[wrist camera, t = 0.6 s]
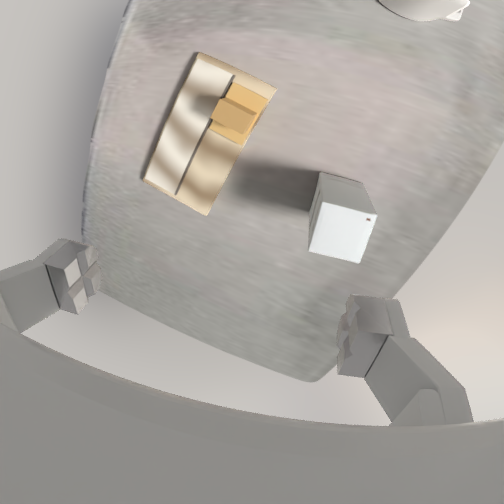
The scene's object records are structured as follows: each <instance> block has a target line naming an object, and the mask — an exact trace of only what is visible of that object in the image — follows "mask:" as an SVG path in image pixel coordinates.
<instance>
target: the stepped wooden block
mask: <svg viewBox="0 0 504 504" xmlns="http://www.w3.org/2000/svg"><path fill="white" fill-rule="evenodd" d="M267 101H268V99H266V98H264V97H262V96H261V95H259V94H257V93H255V92H253V91H251V90H249V89H247V88H245V87H243V86H241V85H239V84H237V83H235V82H233V84H232V86H231V87H230V89H229V91H228V93H227V95H226V97H225V98H222V99H219V101H218V103H217V105H216V107H215V109H214V111H213V113H212V115H211V117H210V118H211V119H213V122H212V124H211V126H210V128H209V129H211V130H213V131H215V132H217V133H219V134H221V135H223V136H225V137H227V138H228V139H230V140H232V141H234V142H236V143H238V144H240V145H241V146H242V145H243V143H244V141H245V139H246V137H247V136H248V134H249V132H250V130H251V129H252V127H253V125H254V123H255V122H256V120H257V118H258V116H259V115H260V113H261V111H262V109H263V108H264V106H265V104H266V103H267Z"/></svg>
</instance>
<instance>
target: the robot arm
mask: <svg viewBox="0 0 504 504" xmlns="http://www.w3.org/2000/svg"><path fill="white" fill-rule="evenodd" d="M379 1H380V2H381V3H382V4H383V5H384V6H385V7H387V8H388V9H389V10H391V11H393V12H394V13H396V14H398V15H400V16H402V17H405V18H407V19H411V20H415V21H432V20H437V19H444V20H448V21H453V22H456V21H458V20H459V19H460V18H461V15H462V11H463V8H465V7H467V6H468V5H469V4H470V2H469V0H379ZM98 258H99V256H98V252H97V248H95V247H94V246H93V245H88V244H84V243H80V242H76V241H71V240H67V239H58V240H57V241H55V242H54V243H53V244H52V245H51V246H50V247H48V248H47V249H46V250H45V251H43V252H42V253H41V254H40V255H39V256H37V257H36V258H35V259H34V260H33V261H32V260H29V261H26V262H23V263H20V264H18V265H15V266H12V267H9V268H7V269H4V270H1V271H0V504H504V418H502V419H495V420H488V421H480V422H474V421H473V418H472V413H471V409H470V405H469V402H468V399H467V395H466V391H465V388H464V387H463V386H462V385H461V384H460V383H459V382H458V381H457V380H456V379H455V378H454V377H453V376H452V375H451V374H450V373H449V372H448V371H447V370H446V369H445V368H444V367H443V366H442V365H441V364H440V363H439V362H438V361H437V360H436V359H435V358H434V357H433V356H432V355H431V354H430V353H429V352H428V351H427V350H426V349H425V348H424V347H423V346H422V345H421V344H420V343H419V342H418V341H417V340H416V339H415V338H410V334H409V331H408V327H407V324H406V321H405V317H404V314H403V311H402V308H401V305H400V302H399V301H398V300H396V299H388V298H376V297H369V296H363V295H356V294H350V296H349V297H348V300H347V302H346V313H345V314H343V315H342V316H341V319H340V322H339V325H338V330H337V339H336V341H337V347H338V348H339V349H340V351H339V353H338V356H337V372H338V374H339V375H346V376H354V377H362V378H364V379H365V381H366V383H367V384H368V386H369V387H370V389H371V390H372V392H373V393H374V395H375V397H376V398H377V400H378V401H379V403H380V404H381V406H382V407H383V409H384V411H385V412H386V414H387V415H388V417H389V419H390V420H391V422H392V423H391V424H390V425H389V426H365V425H347V424H334V423H322V422H312V421H305V420H297V419H289V418H282V417H275V416H269V415H263V414H257V413H252V412H246V411H241V410H236V409H231V408H227V407H222V406H217V405H213V404H209V403H205V402H200V401H196V400H193V399H189V398H185V397H181V396H178V395H174V394H170V393H167V392H163V391H161V390H157V389H154V388H151V387H148V386H145V385H141V384H138V383H135V382H132V381H130V380H127V379H124V378H121V377H118V376H115V375H113V374H110V373H107V372H105V371H102V370H100V369H97V368H94V367H92V366H89V365H87V364H85V363H82V362H80V361H77V360H75V359H73V358H70V357H68V356H66V355H64V354H61V353H59V352H57V351H55V350H53V349H51V348H48V347H46V346H44V345H42V344H40V343H38V342H36V341H34V340H32V339H30V338H28V337H26V336H24V335H22V334H20V333H22V332H23V331H25V330H27V329H28V328H30V327H32V326H33V325H35V324H37V323H38V322H40V321H42V320H43V319H45V318H47V317H48V316H50V315H52V314H54V313H55V312H57V311H59V310H60V309H62V310H65V311H68V312H71V313H74V314H77V315H78V314H79V313H80V312H81V311H82V309H83V308H84V307H85V306H86V304H87V303H88V297H90V296H92V295H94V294H96V292H97V291H98V290H99V288H100V285H101V282H102V271H101V268H100V266H99V265H98V263H97V260H98Z"/></svg>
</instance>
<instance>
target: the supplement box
mask: <svg viewBox="0 0 504 504" xmlns="http://www.w3.org/2000/svg"><path fill="white" fill-rule="evenodd" d="M377 216H378V215H377V213H376V210H375V208H374V206H373V204H372V202H371V199H370V197H369V195H368V193H367V191H366V189H365V187H364V185H363V183H360V182H357V181H353V180H349V179H346V178H342V177H338V176H334V175H330V174H327V173H322V172H320V173H319V178H318V183H317V187H316V191H315V195H314V199H313V202H312V206H311V209H310V212H309V243H308V251H310V252H314V253H318V254H322V255H327V256H331V257H335V258H339V259H343V260H346V261H350V262H354V263H360V261H361V258H362V256H363V253H364V251H365V248H366V245H367V243H368V240H369V238H370V235H371V232H372V229H373V227H374V224H375V221H376V218H377Z"/></svg>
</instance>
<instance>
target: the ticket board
mask: <svg viewBox="0 0 504 504" xmlns="http://www.w3.org/2000/svg"><path fill="white" fill-rule="evenodd" d="M233 82H235V83H237V84H239V85H241V86H243V87H245V88H247V89H249V90H251V91H253V92H255V93H257V94H259V95H261V96H262V97H264V98H266V99H268V101H267V103H266V104H265V106H264V108H263V109H262V111H261V113H260V115H259V116H258V118H257V120H256V122H255V123H254V125H253V127H252V129H251V130H250V132H249V134H248V136H247V137H246V139H245V141H244V143H243V145H242V146H241V145H240V144H238V143H236V142H234V141H232V140H230V139H228V138H227V137H225V136H223V135H221V134H219V133H217V132H215V131H213V130H211V129H209V128H210V126H211V124H212V122H213V119H211V118H210V117H211V115H212V113H213V111H214V109H215V107H216V105H217V103H218V101H219V99H222V98H225V97H226V95H227V93H228V91H229V89H230V87H231V86H232V84H233ZM276 90H277V88H275V87H273V86H271V85H269V84H267V83H265V82H263V81H261V80H259V79H257V78H255V77H253V76H251V75H249V74H247V73H245V72H243V71H241V70H239V69H237V68H235V67H233V66H231V65H228V64H226V63H224V62H222V61H220V60H217V59H215V58H213V57H211V56H208V55H206V54H203V53H201V52H199V53H198V55H197V57H196V59H195V61H194V63H193V65H192V67H191V69H190V71H189V73H188V75H187V77H186V79H185V81H184V83H183V85H182V87H181V89H180V91H179V93H178V96H177V98H176V100H175V102H174V104H173V106H172V109H171V111H170V113H169V115H168V118H167V120H166V122H165V125H164V127H163V129H162V132H161V134H160V137H159V139H158V142H157V144H156V146H155V149H154V152H153V154H152V157H151V159H150V162H149V164H148V167H147V170H146V173H145V175H144V178H143V181H144V182H146V183H147V184H149V185H151V186H153V187H155V188H156V189H158V190H160V191H162V192H164V193H165V194H167V195H169V196H171V197H173V198H174V199H176V200H178V201H180V202H182V203H183V204H185V205H187V206H189V207H191V208H192V209H194V210H196V211H198V212H200V213H201V214H203V215H205V216H207V214H208V212H209V211H210V209H211V207H212V205H213V203H214V201H215V199H216V197H217V195H218V193H219V191H220V189H221V188H222V186H223V184H224V182H225V180H226V178H227V176H228V174H229V173H230V171H231V169H232V167H233V165H234V163H235V162H236V160H237V158H238V156H239V154H240V152H241V151H242V149H243V147H244V145H245V143H246V142H247V140H248V138H249V136H250V135H251V133H252V131H253V129H254V127H255V126H256V124H257V122H258V120H259V119H260V117H261V115H262V114H263V112H264V110H265V108H266V107H267V105H268V103H269V102H270V100H271V98H272V96H273V95H274V93H275V91H276Z"/></svg>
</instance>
